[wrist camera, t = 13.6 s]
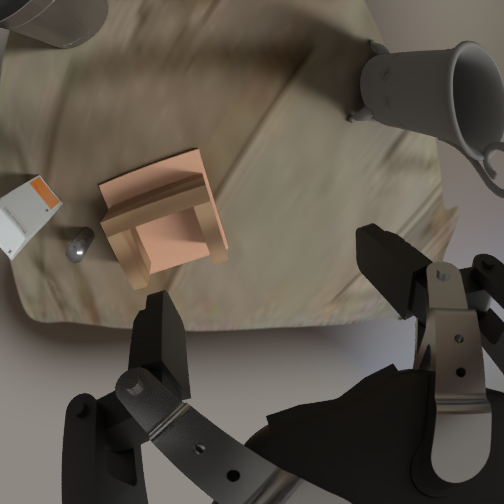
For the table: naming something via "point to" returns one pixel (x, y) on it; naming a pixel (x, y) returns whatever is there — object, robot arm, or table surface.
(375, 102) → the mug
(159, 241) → the tile
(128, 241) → the c link
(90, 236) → the post
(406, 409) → the robot arm
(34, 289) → the table surface
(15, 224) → the skincare box
